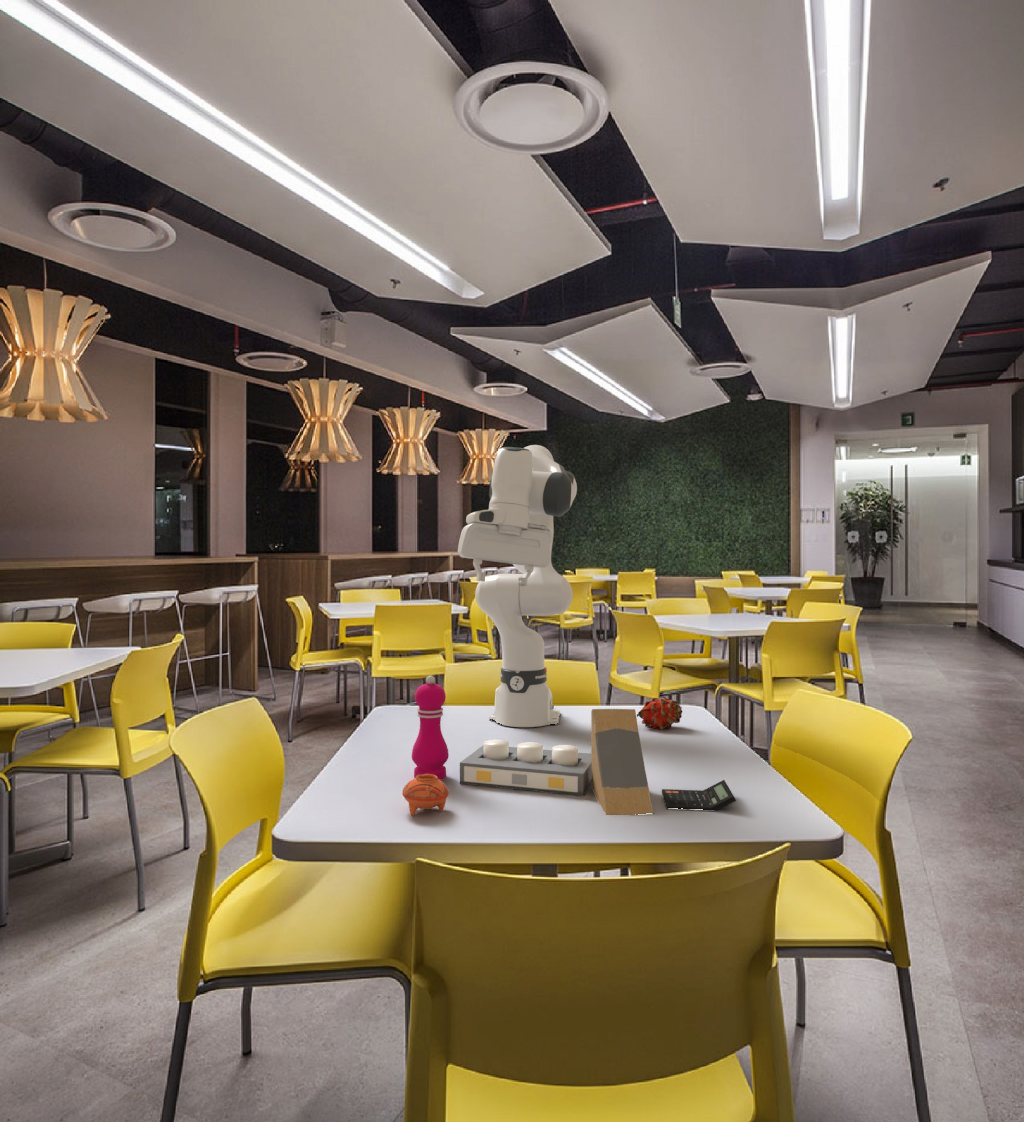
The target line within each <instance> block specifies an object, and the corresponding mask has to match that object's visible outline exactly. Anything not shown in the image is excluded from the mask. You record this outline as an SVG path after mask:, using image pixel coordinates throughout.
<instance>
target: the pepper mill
mask: <svg viewBox="0 0 1024 1122" xmlns="http://www.w3.org/2000/svg"><path fill="white" fill-rule="evenodd" d="M435 680H436V679H435V677H434V676H433V675H428V676H427V677H426V678H425V682H426V683H424V684H421V685H420V686H418V688H417V689H416V691H415V693H414V701H415V703H416V705H417V706H418V708H417V717H419V730H418V734H417V737H416V739H415V741H414V744H413V747H412V750H411V760H412V761H413V763H414V764H415V765H416V767H414V769H413V777H414V778H416V776H417V775H425V774H433V775H436V776H437V777H438V779H439V780H441V781H443V780H444V779H446V778H447V767H446V766H445V764H446V762H447V761H448V760H449V747H448V744H447V742H446V740H445V738H444V736H443V733H442V728H441V726H442V725H441V721H442V719H441V718H442V717H443V715H444V713H443V711H444V709H443V707H442V706H444V703H445V702H446V698H447V697H446V692H445V690H444V688H443V686H441V685H440V684H437V683H435ZM414 778H413V779H414Z"/></svg>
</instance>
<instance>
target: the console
mask: <svg viewBox="0 0 1024 1122" xmlns="http://www.w3.org/2000/svg"><path fill="white" fill-rule="evenodd" d="M483 756H484V744H482V745H481V746H480V747H478V748H477V749H476V750H475V751H473V752H472V753H471V754H469V755H468V756H467V757H465V758H464V759H462V761H460V762H459V784H462V785H470V786H471V785H472V786H481V787H489V788H490V787H493V788H500V787H502V789H510V788H513V790H521V789H522V791H533V792H541V791H543V792H544V793H551V792H552V793H553V794H561V795H562V794H563V795H572V796H581V795H583V796H585V794H586V793H587V791H588V789H589V788H590V786H591V785H592V752H591V753H588V752H579V751H578V765H577V766H566V765H555V764H552V749H543V761H542V762H541V763H532V762H520V761H517V746H516V747H514V746H509V757H508V758H507V759H506V760H497V759H486V758H483ZM543 792H542V793H543Z"/></svg>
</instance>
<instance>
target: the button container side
mask: <svg viewBox="0 0 1024 1122" xmlns="http://www.w3.org/2000/svg"><path fill="white" fill-rule="evenodd" d="M551 750H552V764H555V765H566V766H577V765H578V752H579V748H578V746H576V745H575V746H574V745H571V744H558V745H554V746H552V748H551Z"/></svg>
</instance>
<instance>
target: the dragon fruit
mask: <svg viewBox="0 0 1024 1122" xmlns="http://www.w3.org/2000/svg"><path fill="white" fill-rule="evenodd" d="M682 713H683V710H682V706H680V704H678V702H677V701H676V700H673V699H668V698H667V697H665V696H662V698H661V699H660V698H659V699H658V698H657V697H652V699H651V700H650V701H646V702H645V704H644V706H642V708H641V709H640V710H639V711H638V712H637V713H636V718H638V717H640V719H642V721H641V724H642V725H644V727H645V728H651V729H655V728H659V729H660V730H664V729H665V728H666V729H670V728H672V726H673V724H678V723H680V722H681V719H682Z"/></svg>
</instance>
